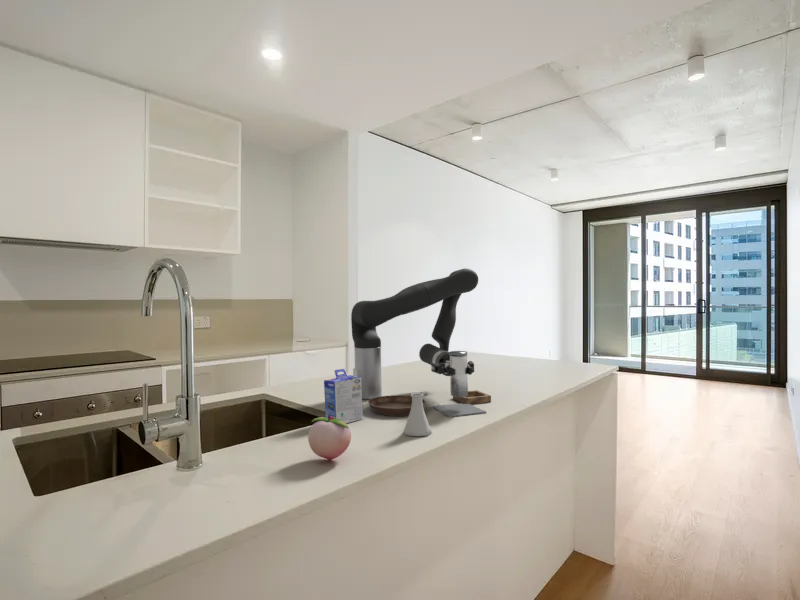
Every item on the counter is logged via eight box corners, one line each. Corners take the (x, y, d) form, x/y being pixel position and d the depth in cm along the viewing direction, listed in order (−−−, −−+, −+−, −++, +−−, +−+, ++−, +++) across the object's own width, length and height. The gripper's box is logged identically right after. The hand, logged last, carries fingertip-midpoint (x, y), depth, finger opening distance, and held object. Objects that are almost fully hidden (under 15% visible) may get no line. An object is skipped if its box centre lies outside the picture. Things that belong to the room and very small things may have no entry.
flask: (432, 429, 121) (431, 391, 121) (431, 437, 114) (430, 397, 114) (404, 428, 122) (404, 391, 121) (402, 437, 114) (401, 397, 114)
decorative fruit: (300, 466, 96) (299, 418, 96) (317, 452, 104) (316, 408, 104) (342, 470, 94) (341, 421, 93) (356, 456, 101) (355, 411, 101)
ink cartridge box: (350, 416, 135) (350, 366, 135) (363, 419, 131) (362, 368, 131) (323, 423, 128) (322, 371, 127) (336, 427, 124) (335, 373, 124)
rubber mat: (449, 417, 132) (449, 415, 132) (432, 407, 143) (432, 406, 143) (486, 413, 136) (486, 411, 136) (466, 403, 147) (466, 402, 147)
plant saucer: (404, 401, 153) (404, 392, 153) (437, 412, 139) (437, 402, 139) (357, 409, 144) (357, 399, 144) (388, 422, 129) (388, 411, 129)
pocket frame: (465, 404, 146) (465, 398, 146) (452, 398, 155) (452, 392, 155) (491, 401, 150) (490, 395, 150) (476, 396, 158) (476, 390, 158)
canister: (455, 397, 136) (454, 353, 136) (447, 393, 141) (446, 351, 141) (471, 395, 138) (470, 352, 138) (462, 392, 143) (462, 350, 143)
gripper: (424, 352, 152) (437, 360, 135) (466, 350, 155) (484, 357, 138) (425, 375, 152) (438, 385, 136) (466, 372, 155) (484, 382, 138)
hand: (461, 371), depth 137 cm, fingers closed on canister, 5 cm apart
